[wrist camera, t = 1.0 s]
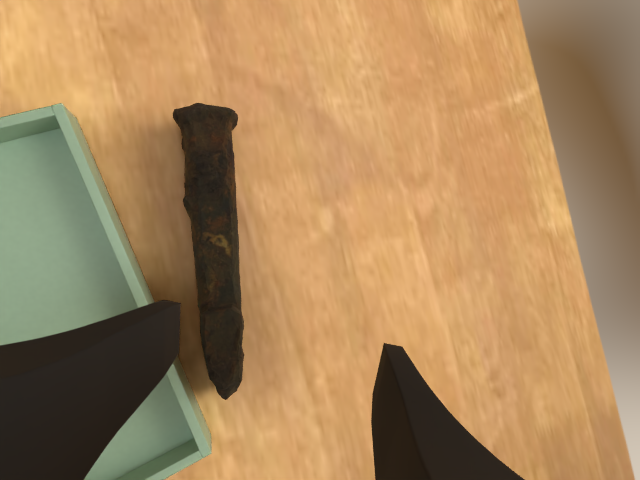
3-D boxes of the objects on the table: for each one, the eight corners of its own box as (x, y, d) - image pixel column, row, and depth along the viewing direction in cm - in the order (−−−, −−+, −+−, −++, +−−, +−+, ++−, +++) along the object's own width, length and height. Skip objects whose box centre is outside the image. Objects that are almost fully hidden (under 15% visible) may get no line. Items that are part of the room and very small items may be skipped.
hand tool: (176, 119, 25) (169, 92, 21) (235, 123, 27) (240, 98, 22) (183, 391, 25) (177, 422, 21) (242, 383, 26) (248, 410, 22)
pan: (33, 529, 22) (12, 562, 20) (-139, 170, 20) (-185, 159, 18) (211, 434, 25) (211, 453, 23) (76, 117, 24) (61, 102, 21)
